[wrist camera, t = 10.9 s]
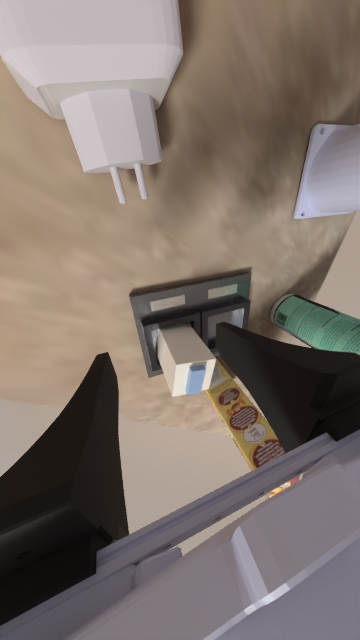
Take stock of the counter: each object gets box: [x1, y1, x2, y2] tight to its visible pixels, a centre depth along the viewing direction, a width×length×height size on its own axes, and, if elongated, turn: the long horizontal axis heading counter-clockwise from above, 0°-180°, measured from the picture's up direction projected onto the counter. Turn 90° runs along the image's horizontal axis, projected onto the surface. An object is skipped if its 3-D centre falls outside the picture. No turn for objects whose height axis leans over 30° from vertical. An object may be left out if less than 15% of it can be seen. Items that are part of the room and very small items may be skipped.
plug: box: [156, 324, 216, 397], centre depth 20 cm, size 4×4×8 cm
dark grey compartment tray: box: [129, 272, 251, 378], centre depth 23 cm, size 15×12×2 cm
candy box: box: [205, 357, 299, 498], centre depth 24 cm, size 9×4×15 cm, turn 23°
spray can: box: [270, 293, 360, 355], centre depth 20 cm, size 6×6×20 cm
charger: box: [0, 0, 183, 204], centre depth 10 cm, size 5×9×15 cm
